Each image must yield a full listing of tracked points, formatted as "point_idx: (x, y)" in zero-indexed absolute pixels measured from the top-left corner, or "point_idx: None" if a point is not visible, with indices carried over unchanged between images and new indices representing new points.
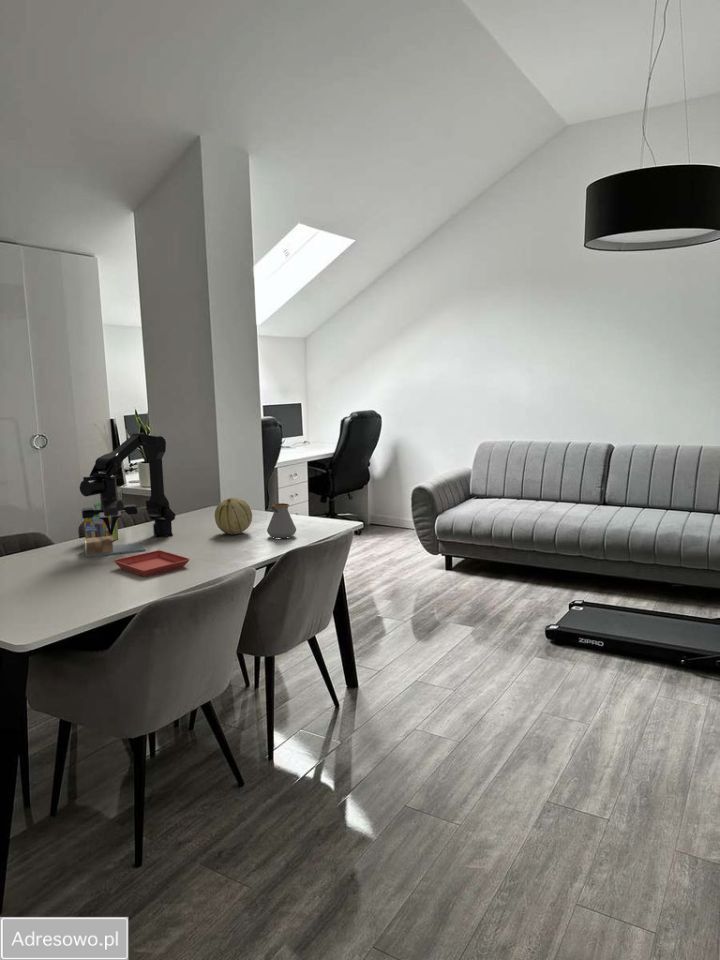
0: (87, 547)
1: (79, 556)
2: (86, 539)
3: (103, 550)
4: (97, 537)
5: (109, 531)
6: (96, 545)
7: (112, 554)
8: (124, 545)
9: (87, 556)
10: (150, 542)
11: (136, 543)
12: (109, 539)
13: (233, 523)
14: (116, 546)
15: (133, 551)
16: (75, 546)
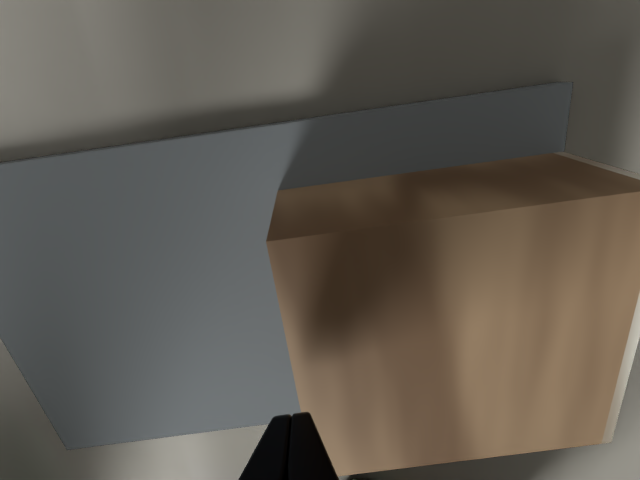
0: (600, 172)
1: (616, 152)
2: (600, 396)
3: (382, 181)
4: (462, 452)
5: (313, 453)
6: (489, 191)
7: (280, 122)
8: (194, 388)
9: (554, 84)
10: (6, 459)
11: (97, 424)
12: (315, 323)
13: None
14: (263, 374)
15: (47, 158)
16: (567, 472)
